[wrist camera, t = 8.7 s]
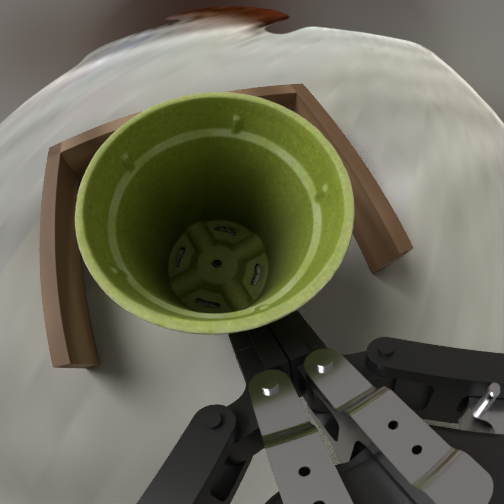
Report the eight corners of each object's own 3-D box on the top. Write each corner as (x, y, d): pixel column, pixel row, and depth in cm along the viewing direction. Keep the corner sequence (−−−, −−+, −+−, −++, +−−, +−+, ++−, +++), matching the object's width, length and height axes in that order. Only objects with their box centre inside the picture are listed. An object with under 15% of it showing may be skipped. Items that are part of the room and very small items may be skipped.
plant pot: (303, 214, 18) (349, 116, 10) (285, 360, 14) (349, 358, 6) (168, 190, 18) (140, 87, 10) (126, 325, 14) (36, 285, 6)
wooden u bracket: (84, 368, 13) (53, 367, 10) (67, 174, 18) (49, 148, 15) (385, 267, 17) (413, 247, 14) (294, 114, 22) (302, 83, 19)
